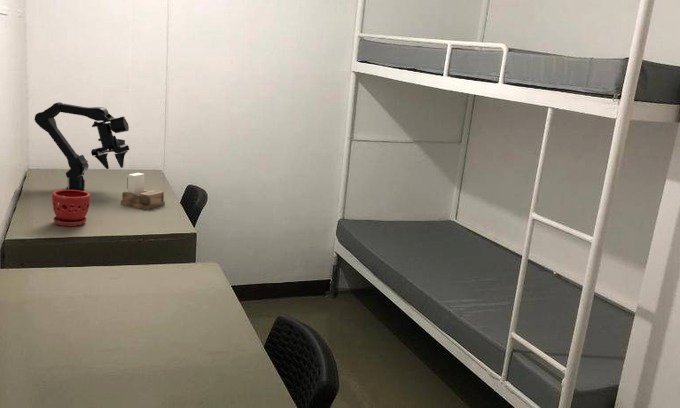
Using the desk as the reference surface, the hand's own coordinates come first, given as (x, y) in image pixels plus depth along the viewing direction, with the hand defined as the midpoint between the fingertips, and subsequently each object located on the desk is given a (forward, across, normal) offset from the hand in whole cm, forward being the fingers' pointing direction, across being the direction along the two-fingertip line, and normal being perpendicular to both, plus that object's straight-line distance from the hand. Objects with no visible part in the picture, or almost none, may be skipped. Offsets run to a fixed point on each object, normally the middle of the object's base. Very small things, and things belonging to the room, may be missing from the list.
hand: (114, 168), depth 287 cm
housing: (+15, -19, +8) cm, 26 cm away
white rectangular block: (+13, -16, +8) cm, 22 cm away
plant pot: (+11, -22, +48) cm, 54 cm away
